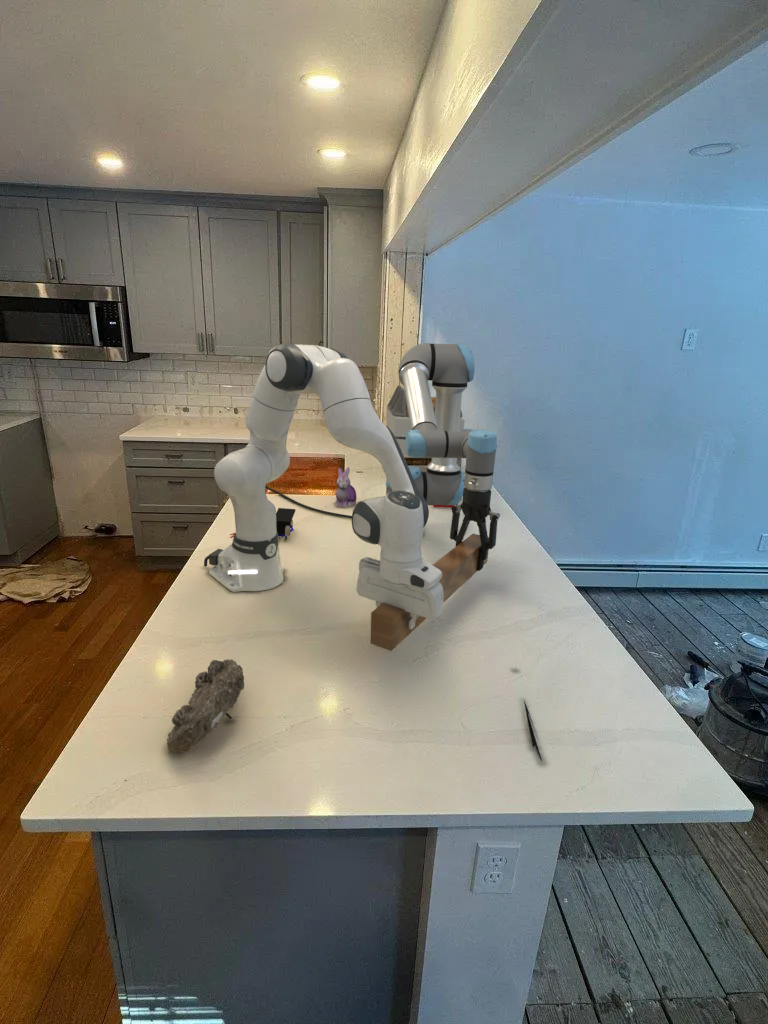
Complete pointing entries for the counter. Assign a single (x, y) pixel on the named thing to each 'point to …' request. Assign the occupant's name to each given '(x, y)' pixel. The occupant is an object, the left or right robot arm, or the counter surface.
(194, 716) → the fossil
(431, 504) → the right robot arm
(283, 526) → the figurine character
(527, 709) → the feather
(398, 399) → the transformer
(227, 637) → the counter surface
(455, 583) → the bar
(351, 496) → the figurine
